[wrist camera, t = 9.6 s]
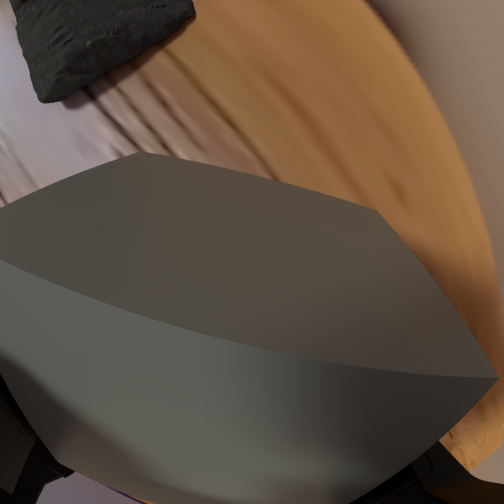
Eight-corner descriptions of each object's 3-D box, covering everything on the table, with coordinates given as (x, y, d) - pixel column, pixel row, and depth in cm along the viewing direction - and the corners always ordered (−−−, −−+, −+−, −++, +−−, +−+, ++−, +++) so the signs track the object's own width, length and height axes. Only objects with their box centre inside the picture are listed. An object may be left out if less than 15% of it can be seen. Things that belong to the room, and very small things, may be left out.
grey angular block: (301, 375, 12) (301, 526, 6) (131, 331, 12) (58, 462, 6) (376, 210, 9) (498, 378, 3) (141, 151, 9) (-48, 235, 2)
